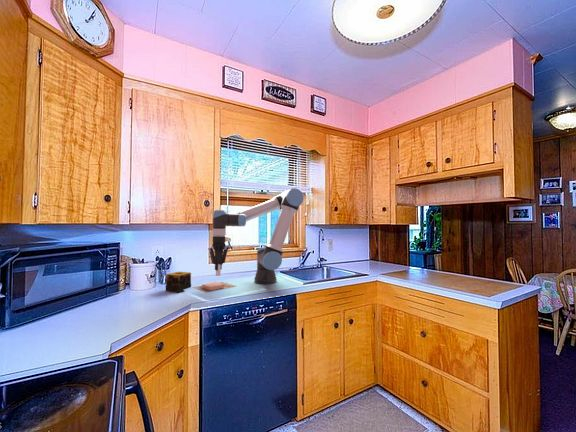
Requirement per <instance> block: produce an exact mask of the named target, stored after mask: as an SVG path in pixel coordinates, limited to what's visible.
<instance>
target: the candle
mask: <svg viewBox="0 0 576 432" xmlns="http://www.w3.org/2000/svg"><path fill="white" fill-rule="evenodd" d="M165 276H166V279H165V281H166V282H165V292H168V293H169V292H170V293H174V294H175V293H176V294H181V293H183V292H185V290H186V289H189V288H191V287H192V272H187V271H173V272H170V273H165Z"/></svg>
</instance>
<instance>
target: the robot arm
mask: <svg viewBox="0 0 576 432" xmlns="http://www.w3.org/2000/svg"><path fill="white" fill-rule="evenodd" d="M304 198H305V197H304V194H303V191H301V190H300V189H299V188H289V189H288V190H284V191H283V192H282V193H280V194H278V195H276V196H274V197H273V198H272V199H269V200H267V201H265V202H262V203H260V204H257V205H255V206H251V207H249V208H247V209H244V210H241V211H239V212H237V213H227V211H226V210H224V209H221V210H220V209H216V210H213V213H212V214H213V215H212V244H211V246H210V247H208V248H207V250H208V251H209V255H210V259H211V260H210V261H211V264H213V265H214V270H215V276H217V277H221V273H222V272H221V271H222V267H223V265H224V264H225V262H226V259H227V258H226V257H227V254H228V251H229V247H228V246H226V233H227V232H226V231H227V230H226V229H227V227H245V226H246V224H247V222H249V221H251V220H253V219H256V218H259V217H262V216H263V215H266V214H269V213H271V212H274V211H276V210H277V211H280V213H279V216H278V218H277V222H276V224H275V226H274V230H273V233H272V236H271V238H270V240H269V243H268V244H266V245H265V246H264V247H258V248H257V251H256V253H257V255H256V271H255V272H256V273H255V275H254V276H255V277H254V278H253V280H254V283H256V284H263V285H266V284H274V283H277V280H278V279H277V276H276V275H277V274H276V272H275V270H277V269H279V268H280V267H281V265H282V262H283V259H282V257H283V253H284V250H283V247H284V243H285V241H286V238H287V235H288V233H289V229H290V227H291V223H292V221H293V218H294V215H295V213H297V212H299V211H298V210H299V208H300V206H302V204H303V203H304V201H305V199H304Z"/></svg>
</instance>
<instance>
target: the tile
mask: <svg viewBox="0 0 576 432" xmlns="http://www.w3.org/2000/svg"><path fill="white" fill-rule="evenodd" d="M201 286H202V288H204V289H207V290H210V291H212V290H217V289H222V288H224V284H221V283H220V282H218V281H215V282H209V283H203V284H202V285H201ZM222 290H223V289H222ZM217 291H218V290H217ZM212 292H213V291H212Z"/></svg>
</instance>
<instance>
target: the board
mask: <svg viewBox="0 0 576 432" xmlns="http://www.w3.org/2000/svg"><path fill="white" fill-rule="evenodd" d="M219 283H221V284H224V288H222V289H217V290H212V291H210V290H207V289H204V288H202V285H199V286H193V287H192V286H191V287H192V288H193V289H196V290H198V291H201V292H204V293H206V294H207V293H212V292H216V291H221V290H225V289H230V288H237V285H235V284H232V283H228V282H224V281H220V282H219Z"/></svg>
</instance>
